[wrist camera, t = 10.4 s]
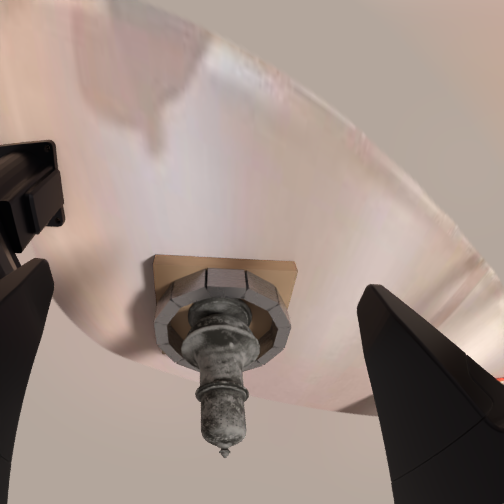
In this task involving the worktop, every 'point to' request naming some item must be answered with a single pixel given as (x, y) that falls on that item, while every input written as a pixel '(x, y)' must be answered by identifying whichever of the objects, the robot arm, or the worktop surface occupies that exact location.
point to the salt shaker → (221, 366)
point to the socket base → (223, 286)
